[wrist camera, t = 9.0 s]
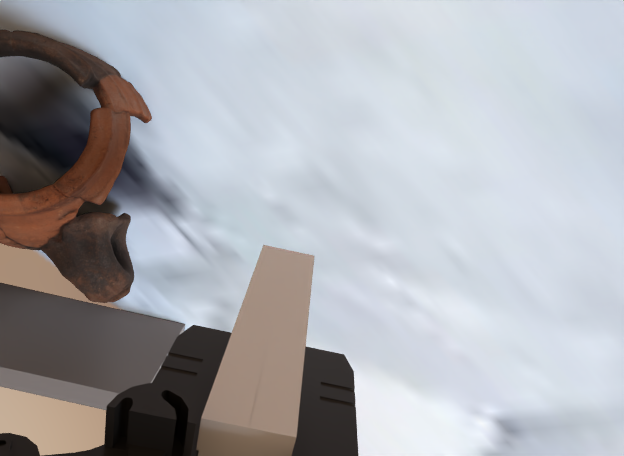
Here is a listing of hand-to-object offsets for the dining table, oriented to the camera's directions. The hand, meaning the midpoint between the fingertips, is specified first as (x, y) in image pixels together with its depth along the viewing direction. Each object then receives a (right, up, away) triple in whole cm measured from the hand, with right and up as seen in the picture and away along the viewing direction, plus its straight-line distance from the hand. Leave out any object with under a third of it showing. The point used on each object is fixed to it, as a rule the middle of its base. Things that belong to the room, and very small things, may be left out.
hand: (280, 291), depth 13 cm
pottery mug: (-10, +5, +10) cm, 16 cm away
